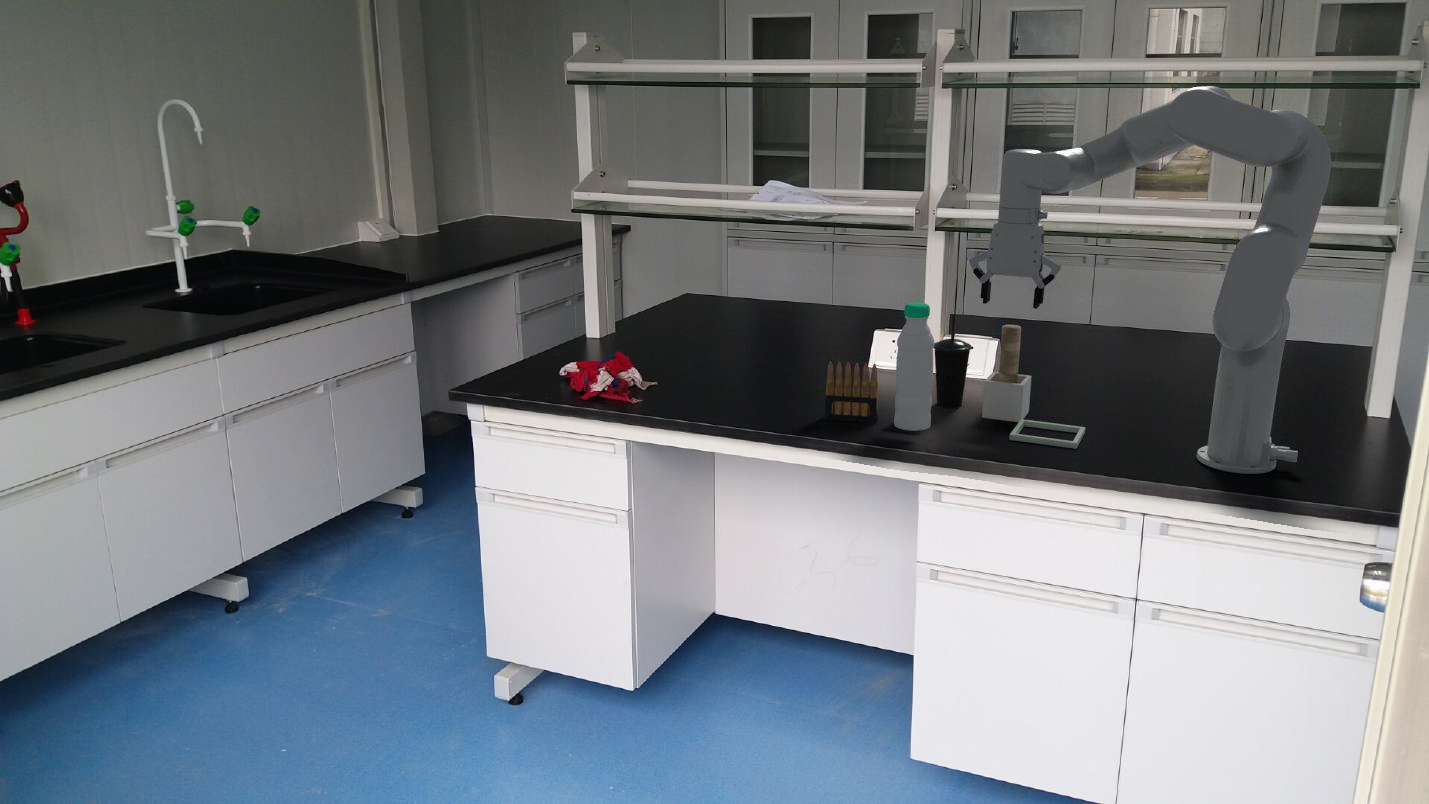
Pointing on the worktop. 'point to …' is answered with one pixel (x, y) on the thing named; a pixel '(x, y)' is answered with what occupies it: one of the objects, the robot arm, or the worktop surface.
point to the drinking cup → (951, 369)
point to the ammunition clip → (851, 395)
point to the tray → (1047, 441)
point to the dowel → (1009, 353)
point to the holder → (1006, 398)
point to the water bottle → (914, 370)
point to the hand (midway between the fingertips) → (1011, 304)
